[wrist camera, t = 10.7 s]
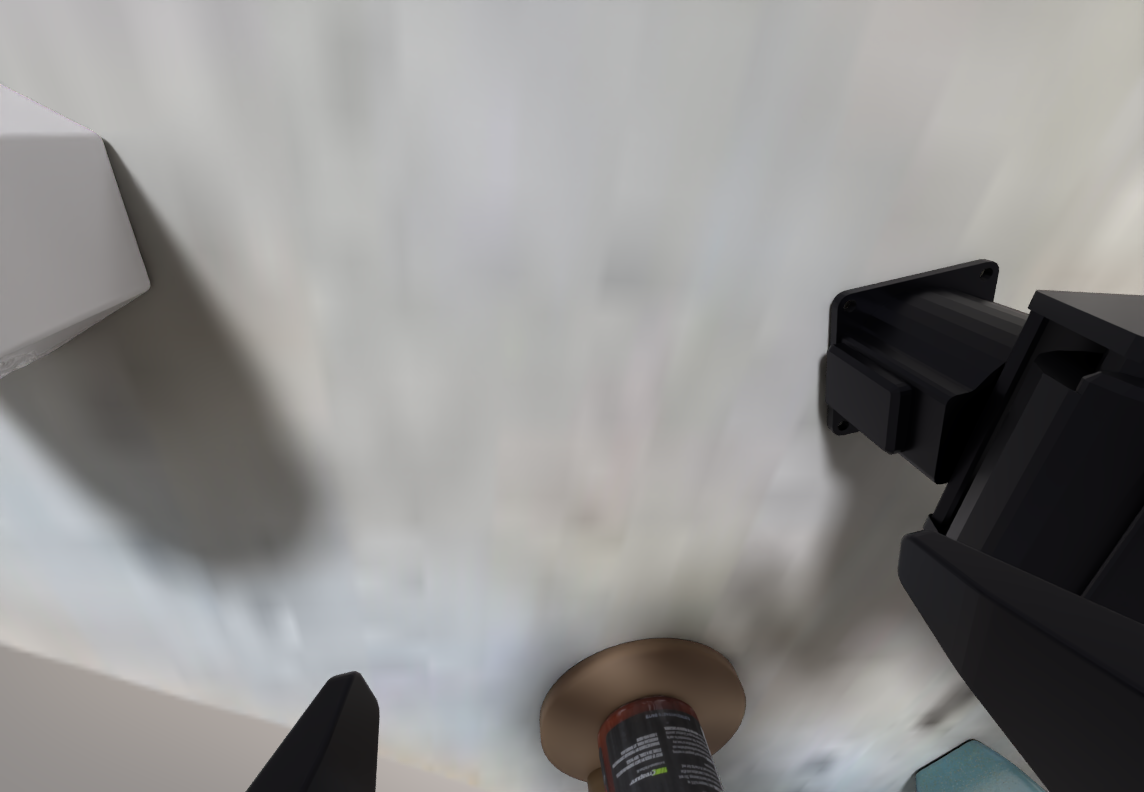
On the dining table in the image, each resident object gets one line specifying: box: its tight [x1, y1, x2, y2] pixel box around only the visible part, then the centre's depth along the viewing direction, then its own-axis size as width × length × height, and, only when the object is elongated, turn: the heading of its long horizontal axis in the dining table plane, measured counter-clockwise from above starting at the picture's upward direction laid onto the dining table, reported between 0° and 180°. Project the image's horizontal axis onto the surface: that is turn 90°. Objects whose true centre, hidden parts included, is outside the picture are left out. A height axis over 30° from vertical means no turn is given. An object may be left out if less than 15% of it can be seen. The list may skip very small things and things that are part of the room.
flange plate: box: [540, 638, 746, 792], centre depth 28 cm, size 12×12×7 cm
